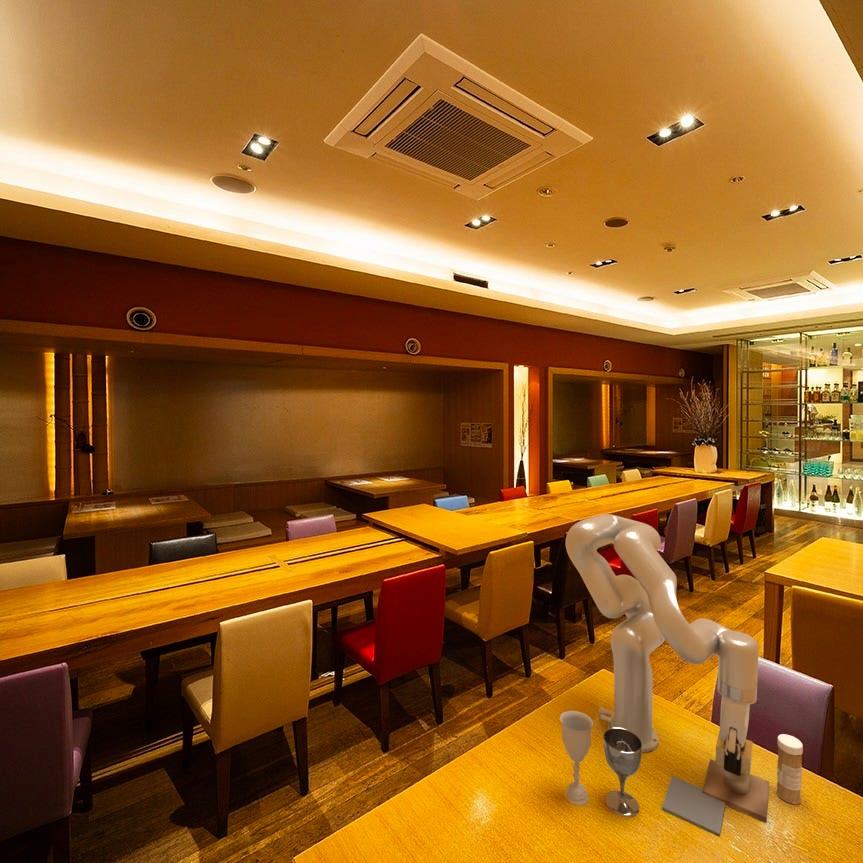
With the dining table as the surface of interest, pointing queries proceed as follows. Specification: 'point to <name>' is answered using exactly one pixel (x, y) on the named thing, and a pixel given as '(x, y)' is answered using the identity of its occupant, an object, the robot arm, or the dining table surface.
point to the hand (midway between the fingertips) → (733, 761)
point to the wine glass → (622, 767)
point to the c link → (744, 754)
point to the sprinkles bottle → (789, 768)
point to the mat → (694, 805)
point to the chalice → (576, 750)
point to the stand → (737, 790)
